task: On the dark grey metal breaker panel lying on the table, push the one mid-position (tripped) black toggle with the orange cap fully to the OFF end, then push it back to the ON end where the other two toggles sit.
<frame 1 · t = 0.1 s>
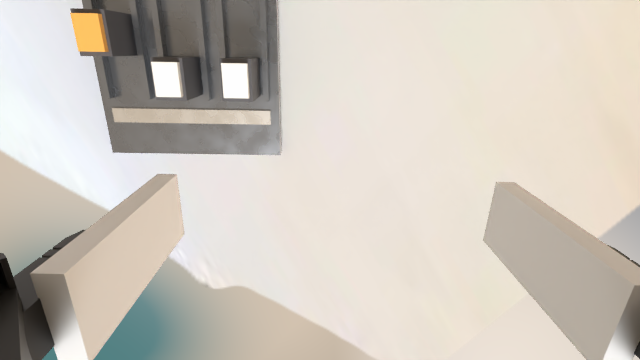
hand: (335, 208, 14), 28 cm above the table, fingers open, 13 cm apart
breaker 1: (105, 34, 34), point 4 cm above the table, slide at 0.0 cm
panel: (186, 36, 38), on the table
breaker 2: (177, 77, 35), point 4 cm above the table, slide at 4.0 cm
breaker 3: (241, 78, 35), point 4 cm above the table, slide at 4.0 cm
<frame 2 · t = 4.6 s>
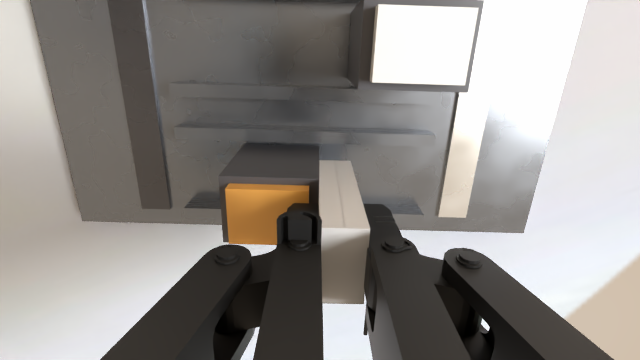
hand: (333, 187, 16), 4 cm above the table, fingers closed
breaker 1: (276, 191, 16), point 4 cm above the table, slide at -1.3 cm, touching gripper
panel: (308, 45, 18), on the table
breaker 2: (404, 47, 14), point 4 cm above the table, slide at 4.0 cm
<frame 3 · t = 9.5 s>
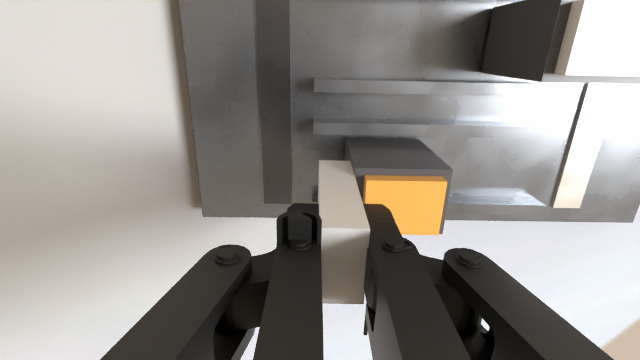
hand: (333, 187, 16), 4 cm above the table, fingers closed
breaker 1: (390, 183, 17), point 4 cm above the table, slide at -2.7 cm, touching gripper
panel: (438, 40, 18), on the table
breaker 2: (565, 41, 14), point 4 cm above the table, slide at 4.0 cm
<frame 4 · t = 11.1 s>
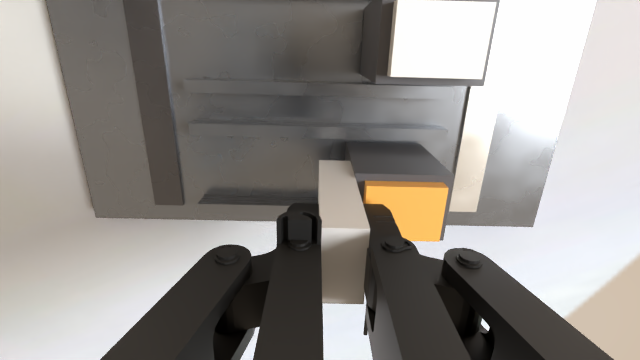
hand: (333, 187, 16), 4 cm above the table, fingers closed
breaker 1: (390, 188, 16), point 4 cm above the table, slide at 3.5 cm, touching gripper
panel: (320, 41, 18), on the table
breaker 2: (418, 42, 14), point 4 cm above the table, slide at 4.0 cm
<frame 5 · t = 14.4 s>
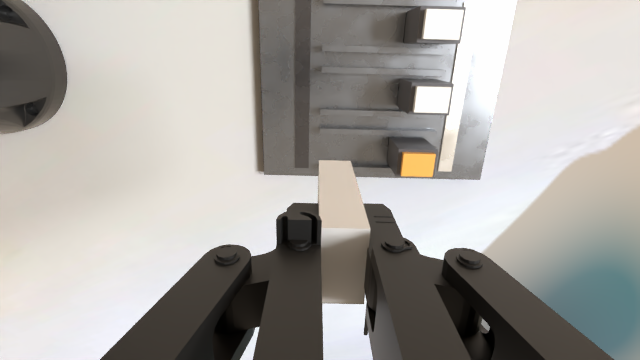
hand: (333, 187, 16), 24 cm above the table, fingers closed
breaker 1: (411, 157, 37), point 4 cm above the table, slide at 3.5 cm
panel: (378, 90, 39), on the table
breaker 2: (424, 96, 35), point 4 cm above the table, slide at 4.0 cm
breaker 3: (433, 26, 33), point 4 cm above the table, slide at 4.0 cm
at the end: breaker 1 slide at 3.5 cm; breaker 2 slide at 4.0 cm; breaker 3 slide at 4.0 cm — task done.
